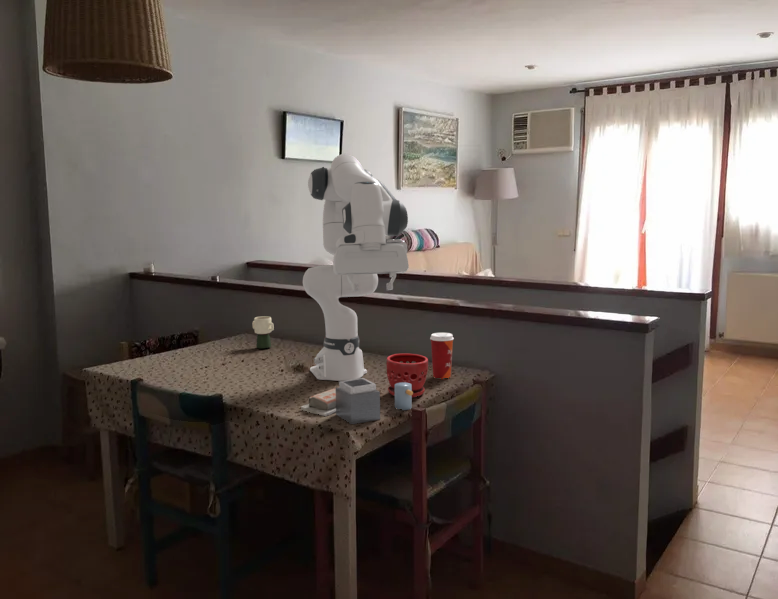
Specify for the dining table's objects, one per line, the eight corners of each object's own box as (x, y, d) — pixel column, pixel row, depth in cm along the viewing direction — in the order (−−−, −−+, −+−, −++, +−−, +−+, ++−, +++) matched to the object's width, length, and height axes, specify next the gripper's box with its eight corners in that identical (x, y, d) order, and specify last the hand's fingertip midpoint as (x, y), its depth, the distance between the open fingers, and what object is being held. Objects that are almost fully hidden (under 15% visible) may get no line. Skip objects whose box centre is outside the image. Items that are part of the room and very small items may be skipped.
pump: (391, 406, 201) (391, 383, 200) (406, 404, 203) (406, 381, 202) (403, 413, 195) (403, 389, 193) (418, 410, 197) (418, 387, 196)
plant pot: (385, 400, 207) (385, 362, 205) (387, 388, 220) (387, 352, 218) (428, 400, 206) (428, 362, 204) (427, 388, 219) (427, 352, 217)
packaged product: (339, 382, 212) (364, 387, 206) (339, 397, 212) (364, 402, 207) (299, 396, 197) (325, 401, 191) (300, 411, 198) (325, 418, 192)
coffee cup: (455, 379, 230) (455, 336, 227) (431, 380, 229) (431, 337, 227) (451, 373, 238) (451, 331, 236) (428, 374, 237) (428, 332, 235)
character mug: (279, 347, 282) (278, 317, 280) (268, 351, 276) (267, 320, 274) (259, 345, 287) (257, 315, 285) (248, 348, 281) (246, 318, 279)
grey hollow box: (336, 414, 193) (335, 381, 192) (364, 409, 198) (363, 376, 196) (351, 424, 185) (350, 389, 183) (380, 419, 189) (379, 384, 188)
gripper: (403, 241, 187) (407, 290, 185) (330, 242, 182) (333, 293, 180) (409, 236, 181) (413, 287, 179) (334, 237, 176) (337, 289, 174)
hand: (372, 290), depth 180 cm, fingers open, 8 cm apart
